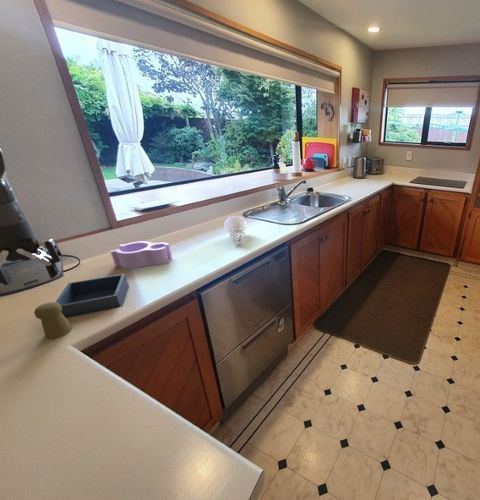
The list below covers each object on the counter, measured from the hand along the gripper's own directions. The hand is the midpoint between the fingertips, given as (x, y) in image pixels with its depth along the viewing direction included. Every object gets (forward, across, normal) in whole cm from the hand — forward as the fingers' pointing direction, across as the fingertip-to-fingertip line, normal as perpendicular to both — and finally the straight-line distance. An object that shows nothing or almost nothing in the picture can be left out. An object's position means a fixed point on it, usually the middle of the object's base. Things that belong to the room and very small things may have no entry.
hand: (31, 280), depth 73 cm
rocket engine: (+18, -55, -55) cm, 80 cm away
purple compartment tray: (+19, -16, -45) cm, 51 cm away
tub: (+19, -5, -16) cm, 25 cm away
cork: (+19, 0, 0) cm, 19 cm away
